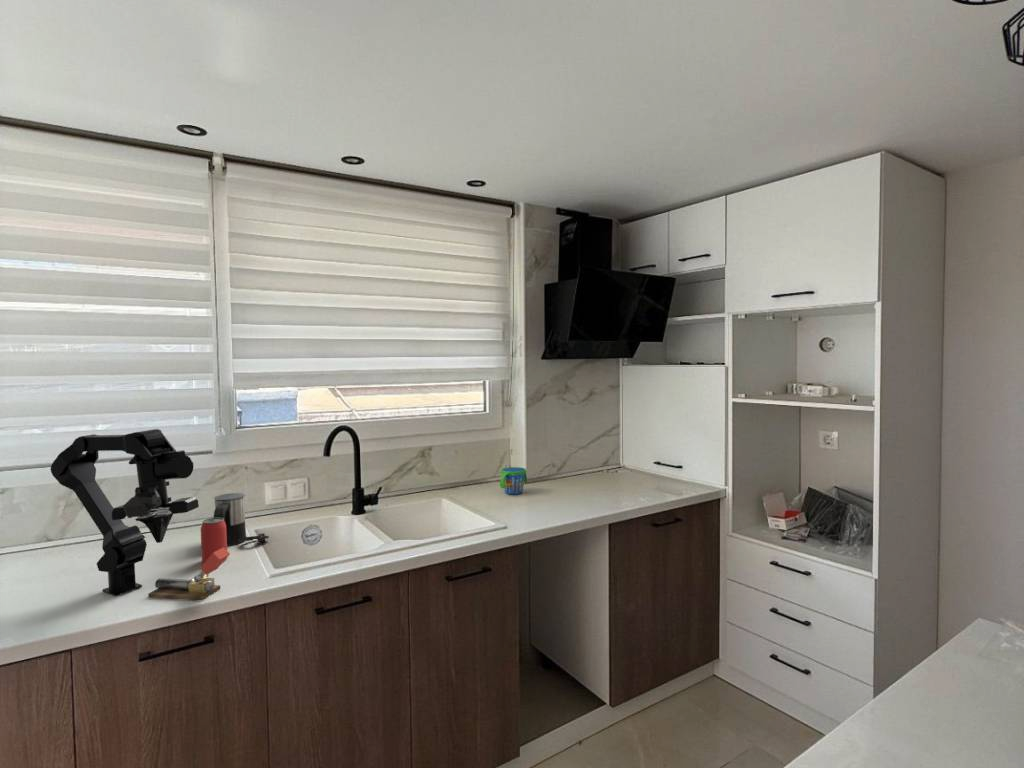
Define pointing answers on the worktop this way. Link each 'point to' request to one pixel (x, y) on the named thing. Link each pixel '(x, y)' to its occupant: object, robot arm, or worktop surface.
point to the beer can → (212, 536)
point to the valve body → (186, 585)
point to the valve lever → (212, 563)
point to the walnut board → (180, 594)
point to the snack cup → (513, 480)
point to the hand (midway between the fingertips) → (159, 542)
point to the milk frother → (234, 517)
